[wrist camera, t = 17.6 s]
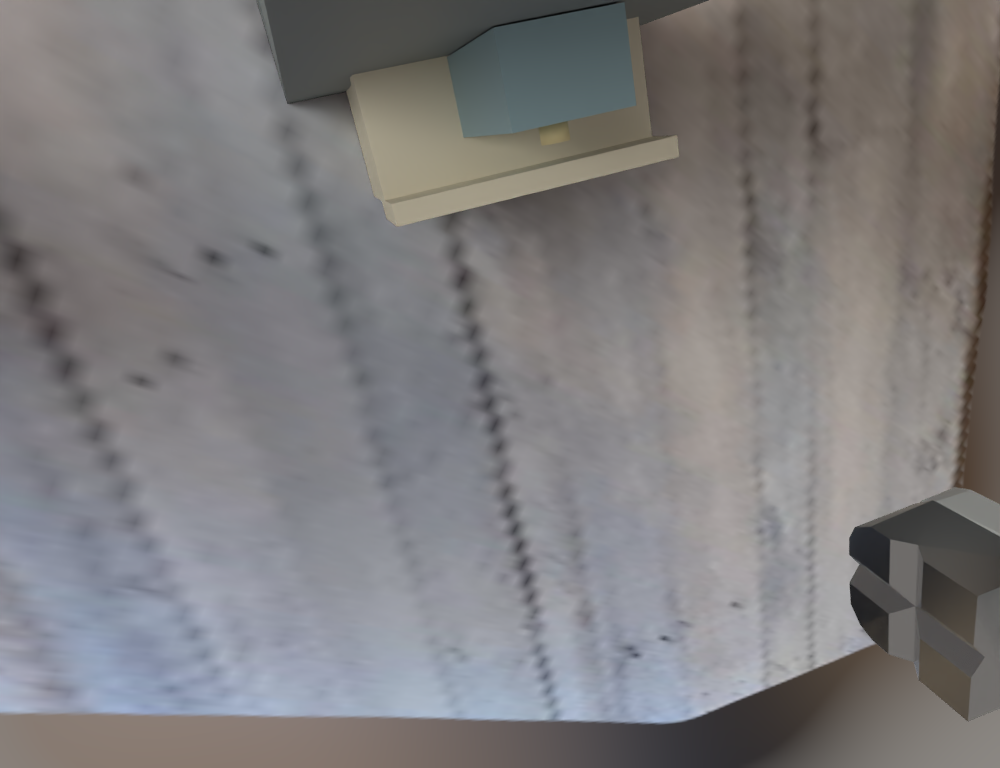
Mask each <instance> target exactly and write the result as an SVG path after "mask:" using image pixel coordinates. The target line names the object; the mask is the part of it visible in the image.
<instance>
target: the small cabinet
mask: <svg viewBox="0 0 1000 768" xmlns="http://www.w3.org/2000/svg"><path fill="white" fill-rule="evenodd" d="M447 60H448V65H449V70H450V74H451V79H452V84H453V89H454V94H455V98H456V103H457V108H458V113H459V118H460V123H461V127H462V132H463V137H464V138H465V137H476V136H488V135H499V134H511V133H516V132H521V131H525V130H530V129H534V128H539V134H540V140H541V145H542V146H543V145H550V144H555V143H560V142H564V141H568V140H570V134H569V127H568V121H570V120H574V119H579V118H583V117H587V116H592V115H596V114H601V113H605V112H610V111H614V110H619V109H623V108H627V107H632V106H636V97H635V88H634V80H633V71H632V62H631V54H630V45H629V36H628V28H627V19H626V10H625V2H623V3H618V4H613V5H607V6H602V7H597V8H592V9H587V10H582V11H576V12H571V13H566V14H561V15H556V16H550V17H545V18H540V19H535V20H530V21H525V22H519V23H514V24H509V25H504V26H499V27H493V28H492V29H490V30H489V31H487V32H485V33H484V34H482V35H481V36H479V37H478V38H476V39H475V40H473V41H471V42H470V43H468V44H467V45H465V46H464V47H462V48H460V49H459V50H457V51H456V52H454V53H453V54H451V55H449V56H448V57H447Z"/></svg>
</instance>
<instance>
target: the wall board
mask: <svg viewBox="0 0 1000 768" xmlns="http://www.w3.org/2000/svg"><path fill="white" fill-rule="evenodd" d="M705 1H708V0H257V4H258V7H259V11H260V14H261V17H262V21H263V24H264V27H265V31H266V34H267V37H268V41H269V44H270V47H271V51H272V54H273V57H274V61H275V64H276V67H277V71H278V74H279V77H280V81H281V84H282V88H283V91H284V94H285V98H286V101H287V104H288V103H293V102H298V101H303V100H308V99H313V98H317V97H322V96H327V95H332V94H337V93H342V92H346V93H347V96H348V100H349V104H350V108H351V111H352V115H353V119H354V123H355V126H356V130H357V134H358V138H359V141H360V145H361V149H362V153H363V156H364V160H365V164H366V168H367V171H368V175H369V179H370V183H371V186H372V190H373V194H374V197H376V198H378V199H379V200H381V201H382V203H383V207H384V211H385V215H386V218H387V219H388V220H389V221H390V222H391V223H393V224H394V225H395V226H397V227H399V226H403V225H407V224H411V223H415V222H419V221H423V220H427V219H431V218H435V217H439V216H443V215H447V214H451V213H456V212H460V211H464V210H468V209H472V208H476V207H480V206H484V205H488V204H492V203H496V202H500V201H504V200H508V199H512V198H516V197H520V196H524V195H528V194H532V193H536V192H540V191H544V190H548V189H552V188H556V187H560V186H564V185H568V184H573V183H577V182H581V181H585V180H589V179H593V178H597V177H601V176H605V175H609V174H613V173H617V172H621V171H625V170H629V169H633V168H637V167H641V166H645V165H649V164H653V163H657V162H661V161H665V160H669V159H673V158H677V157H679V150H678V140H677V135H674V136H652V132H651V123H650V114H649V105H648V96H647V87H646V78H645V69H644V60H643V51H642V42H641V33H640V25H643V24H646V23H648V22H651V21H654V20H657V19H659V18H662V17H665V16H667V15H670V14H673V13H676V12H678V11H681V10H684V9H686V8H689V7H692V6H694V5H697V4H700V3H703V2H705ZM623 2H625V10H626V19H627V28H628V36H629V45H630V54H631V62H632V71H633V80H634V88H635V97H636V106H632V107H627V108H623V109H619V110H614V111H610V112H605V113H601V114H596V115H592V116H587V117H583V118H579V119H574V120H570V121H568V127H569V134H570V140H568V141H564V142H560V143H555V144H550V145H543V146H542V145H541V140H540V134H539V128H534V129H530V130H525V131H521V132H516V133H511V134H499V135H488V136H476V137H465V138H464V137H463V132H462V127H461V123H460V118H459V113H458V108H457V103H456V98H455V94H454V89H453V84H452V79H451V74H450V70H449V65H448V60H447V57H448V56H449V55H451V54H453V53H454V52H456V51H457V50H459V49H460V48H462V47H464V46H465V45H467V44H468V43H470V42H471V41H473V40H475V39H476V38H478V37H479V36H481V35H482V34H484V33H485V32H487V31H489V30H490V29H492V28H493V27H499V26H504V25H509V24H514V23H519V22H525V21H530V20H535V19H540V18H545V17H550V16H556V15H561V14H566V13H571V12H576V11H582V10H587V9H592V8H597V7H602V6H607V5H613V4H618V3H623Z"/></svg>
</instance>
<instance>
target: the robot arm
mask: <svg viewBox="0 0 1000 768" xmlns="http://www.w3.org/2000/svg"><path fill="white" fill-rule="evenodd" d="M849 555H850V556H851V557H852V558H853V559H854V560H855V561H856V562H857V563H858V564H860V565H859V566H858V568H857V570H856V572H855V574H854V576H853V577H852V579H851V581H850V597H851V605H852V607H853V610H854V612H855V614H856V616H857V619H858V621H859V623H860V625H861V626H862V628H863V629H864V630H865V631H866V633H867V634H868V635H869V636H870V638H871V639H872V640H873V641H874V642H875V643H876V644H877V645H879V646H880V647H881V648H882V649H883V650H884V651H885V652H887V653H888V654H890V655H893V656H896V657H899V658H902V659H905V660H909V661H912V662H914V664H915V668H916V672H917V675H918V679H919V681H921V682H922V683H923V684H924V685H925V686H927V687H928V688H929V689H930V690H931V691H932V692H934V693H935V694H936V695H937V696H938V697H940V698H941V699H942V700H943V701H944V702H945V703H947V704H948V705H949V706H950V707H951V708H953V709H954V710H955V711H956V712H957V713H958V714H960V715H961V716H962V717H963V718H965V719H966V720H967V721H970V720H973V719H975V718H978V717H980V716H982V715H985V714H987V713H990V712H992V711H994V710H997V709H999V708H1000V504H998V503H996V502H994V501H992V500H990V499H988V498H986V497H984V496H982V495H980V494H978V493H976V492H974V491H972V490H968V489H962V488H956V487H955V488H952V489H950V490H947V491H945V492H942V493H940V494H937V495H935V496H932V497H930V498H927V499H925V500H922V501H921V502H920V503H915V504H913V505H910V506H908V507H905V508H903V509H900V510H898V511H895V512H893V513H890V514H887V515H885V516H882V517H880V518H877V519H875V520H872V521H870V522H867V523H865V524H862V525H860V526H857V527H855V528H854V530H853V532H852V534H851V536H850V538H849Z"/></svg>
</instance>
